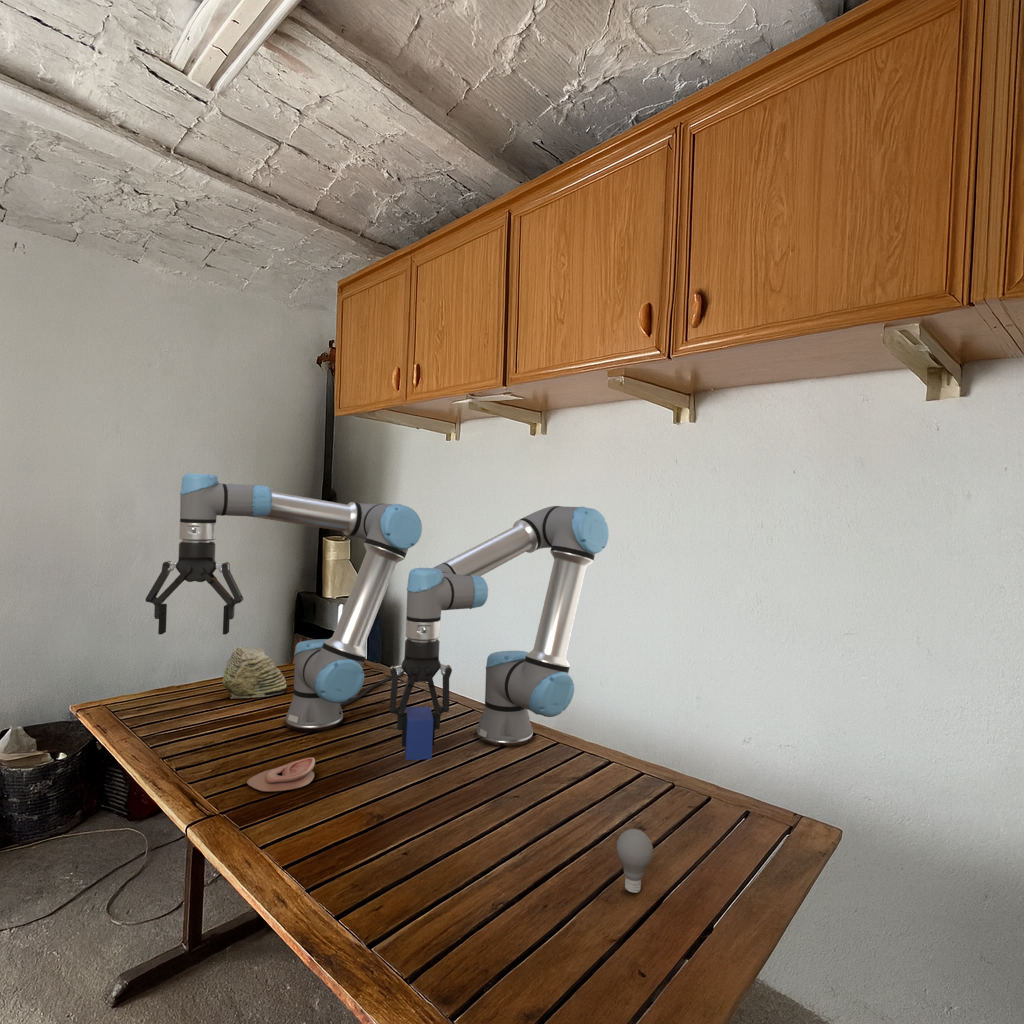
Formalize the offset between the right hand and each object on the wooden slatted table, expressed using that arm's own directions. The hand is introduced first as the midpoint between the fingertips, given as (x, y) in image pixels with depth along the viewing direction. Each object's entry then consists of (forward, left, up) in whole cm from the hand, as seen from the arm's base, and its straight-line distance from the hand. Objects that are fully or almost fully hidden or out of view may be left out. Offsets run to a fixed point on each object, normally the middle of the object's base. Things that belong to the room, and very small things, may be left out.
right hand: (417, 743), depth 139 cm
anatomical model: (+18, -24, -10) cm, 32 cm away
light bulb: (+1, +54, -10) cm, 54 cm away
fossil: (-8, -83, -10) cm, 84 cm away
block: (0, 0, -2) cm, 2 cm away
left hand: (+28, -46, +21) cm, 58 cm away
